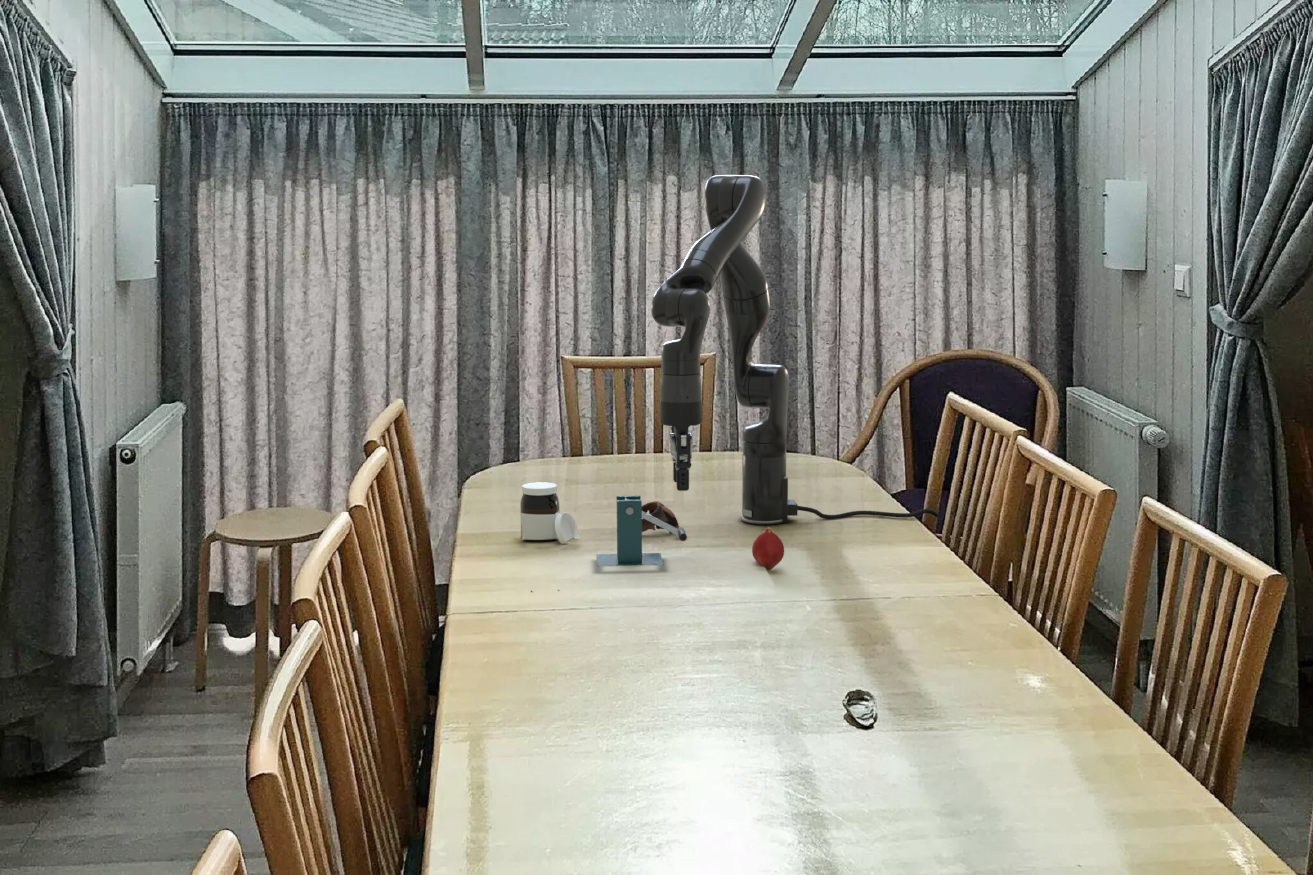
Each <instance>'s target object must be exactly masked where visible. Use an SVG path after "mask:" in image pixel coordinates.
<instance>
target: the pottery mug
mask: <svg viewBox="0 0 1313 875" xmlns="http://www.w3.org/2000/svg"><path fill="white" fill-rule="evenodd" d="M642 511H643V512H645V513H647V514H649V515H651V516H653V517H655V518H657V519H659V520H661V521H663V522H665V523H667V524H669V525H671V526H673V527H675V528H677V529H679V528H680V525H679V522H678V520H677V517H676V515H675V514H674V512H673V511H672V509H670V508H668V507H667V506H666V505H664V504H663V503H662V502H659V501H656V500H655V501H649V502H647V503H645V504H643V505H642ZM649 530H651V531H657V530H664V529H663V528H661V527H659V526H657V525H655V524H653V523H651V522H649V521H647V520H645V519H643V518H642V533H644V532H646V531H649ZM668 533H669V534H670V535H672V534H673V533H671V532H669V531H668Z"/></svg>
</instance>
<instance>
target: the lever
mask: <svg viewBox="0 0 1313 875" xmlns="http://www.w3.org/2000/svg"><path fill="white" fill-rule="evenodd" d="M624 500H629V499H627V498H625V499H624ZM642 519H645V520H647V521H649V522H651V523H653V524H655V525H657V526H659V527H661V528H663V529H662V530H666V531H667V532H668V533H669V532H671V533H672V534H673V535H676V536H677V537H678V538H679V541H681V542H685V541H686V540H687V539H688V535H687V533H686V530H685V529H684V528H683V527H679V529H677V528H675V527H673V526H671V525H669V524H667V523H665V522H663V521H661V520H659V519H657V518H655V517H653V516H651V515H649V513H648V512H647V513H645V512H643V511H642Z"/></svg>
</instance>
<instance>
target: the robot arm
mask: <svg viewBox="0 0 1313 875" xmlns="http://www.w3.org/2000/svg"><path fill="white" fill-rule="evenodd" d="M766 192H767V191H766V187H765V184H764V182H763V180H762V179H761V178H760V177H758V176H756V175H748V174H717V175H713V176H710V177H709V178H708V179H707V181H706V184H705V186H704V206H705V212H706V217H707V221H708V225H709V229H710V231H709V232H707V233H705V235H703V236H702V237H700V238H699V239H698V240H697V241H696V242H695V243H694V244H692V246H691V247H690V249H689V250H688V252H687V253H686V255H685V257H684V259H683V261H682V263H681V265H680V267H679V269H677V270H676V271H674V273H672V274H671V275H670V276H669V277H668V278H667V279H666V280H665V281H664V282H663V283H662V284H661V285H660V286H659V287H658V288H657V289H656V291H655V293H654V295H653V297H652V300H651V303H650V312H651V316H652V319H653V320H654V322H655V323H656V324H658V325H660V326H662V327H669V328H684V331H683V333H682V335H681V337H680V338H678V339H672V340H668V341H665V342H664V343H663V344H662V345H661V354H660V355H661V357H660V358H661V362H660V363H661V364H660V367H661V374H660V376H661V377H660V384H659V387H660V388H659V394H660V395H659V412H660V413H659V416H660V417H659V418H660V419H659V421H660V424H661V425H663V426H666V427H670V431H671V433H669V443H670V444H669V445H670V454H671V460H672V466H673V467H672V469H673V470H672V472H673V475H672V479H673V482H674V483H676V490H677V491H679V492H686V491H689V490H690V470H691V469H692V468H691V467H692V461H691V460H692V458H693V446H692V445H693V442H694V440H693V435H692V433H691V432H689V428H690V427H694V426H699V425H700V424H701V423H702V420H703V419H702V416H703V414H702V412H703V410H702V408H703V407H702V405H703V404H702V400H703V399H702V397H703V396H702V394H703V393H702V391H703V390H702V378H701V350H702V344H703V341H704V340H703V339H704V335H705V332H706V329H707V325H708V322H709V318H710V313H711V302H710V298H709V296H708V293H710V292H711V291H712V289H713V287H714V286H715V283H716V282H717V280H718V278H719V276H720V286H721V293H722V298H723V300H722V301H723V307H724V311H725V316H726V321H727V326H728V332H729V339H730V340H729V341H730V348H731V359H732V370H733V371H732V372H733V384H734V392H735V397H736V400H737V402H738V404H739V405H740V406H741V407H744V408H749V409H768V412H767V416H766V417H765V418H763V419H762V420H760V421H757V422H754V423H751V424H747V425H745V426H744V427H743V429H742V452H741V454H742V460H741V461H742V462H741V463H742V464H741V466H742V467H741V468H742V475H741V476H742V477H741V478H742V479H741V480H742V481H741V482H742V484H741V485H742V487H741V488H742V489H741V491H742V492H741V496H742V498H741V514H742V515H741V521H742V522H744V523H747V524H752V525H764V526H765V525H778V524H783V523H786V524H787V523H788V517H790V516H792V517H793V516H795V517H796V516H798V511H800V512H808V513H811V514H814V515H816V516H818V517H819V518H820V519H826V520H836V519H843V518H848V517H853V516H877V517H888V518H904V519H905V518H915V517H917V516H920V515H923V514H930V515H933V516H934V517H935V518H940V517H941V516H940V514H939V513H938V512H937V511H936V510H934V509H932V508H923V509H919V510H917V511H913V512H890V511H889V512H888V511H880V510H879V511H877V510H854V511H848V512H843V513H838V514H826V513H822V512H821V511H820V510H818V509H816V508H813V507H809V506H803V505H798V503H797V502H796V500H794V499H789V479H788V477H787V438H788V437H787V433H788V432H787V431H788V422H789V421H788V420H789V419H788V418H789V417H788V416H789V401H790V400H789V398H790V375H789V371H788V369H787V367H785V365H783V364H768V363H767V364H766V363H754V362H753V357H752V355H753V354H752V353H753V352H752V351H753V347H754V344H755V342H756V340H757V338H758V336H759V335H760V332H761V331H762V329H763V327H764V325H765V324H766V322H767V320H768V317H769V315H770V312H771V300H770V291H769V284H768V280H767V277H766V275H765V273H764V271H763V270H762V268H761V266H760V265H759V264H758V263H757V261H756V260H755V259H754V258H753V256H752V255H751V253H750V252H748V250H747V249H746V248H745V247H744V245H743V243H742V242H743V241H744V239H745V238H746V237H747V236H748V235H749V234H750V232H751V231H752V229H754V227H755V226H756V225H757V224H758V222H759V221H760V219H761V218H762V216H763V214H764V211H765V208H766V202H767V193H766Z"/></svg>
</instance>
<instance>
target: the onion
mask: <svg viewBox="0 0 1313 875" xmlns="http://www.w3.org/2000/svg"><path fill="white" fill-rule="evenodd" d="M751 546H752V547H751V554H752V557H753V559H754V560H755V562H756V563H757V564H758V565H761V566H764V568H765V570H766V571H771V570H773V569H774V568H775V567H776V566H778V565H779V564H780V563H781V561H782V560H783V558H784V556H785V545H784V543H783V541H782V539H781V538H780V537H779V536H778V535H777V534H776V533H775V532H773V530H772V528H771V527H766V528H765V530H764V531H763V532H762V533H761V534H759V535H758V536H757V537H756V538H755V540H754V541H753V543H752V545H751Z"/></svg>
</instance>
